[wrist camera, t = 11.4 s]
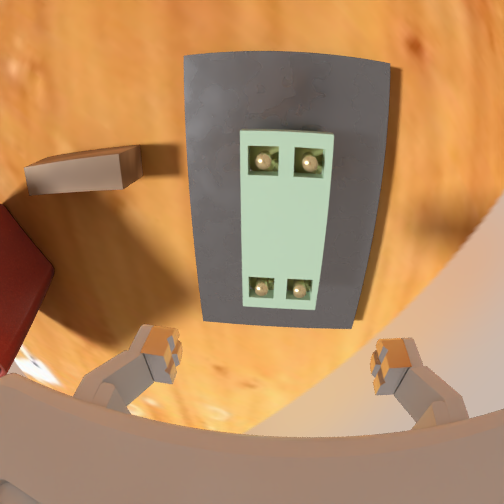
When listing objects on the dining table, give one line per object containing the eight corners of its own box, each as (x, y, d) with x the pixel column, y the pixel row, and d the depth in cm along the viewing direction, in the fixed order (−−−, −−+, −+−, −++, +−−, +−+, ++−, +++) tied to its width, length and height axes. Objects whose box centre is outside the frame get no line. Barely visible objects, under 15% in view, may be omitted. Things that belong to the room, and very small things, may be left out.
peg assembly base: (189, 57, 21) (161, 48, 15) (384, 65, 19) (412, 58, 14) (206, 312, 33) (193, 351, 28) (349, 319, 32) (357, 360, 27)
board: (314, 301, 26) (314, 310, 25) (244, 297, 26) (242, 306, 25) (331, 132, 19) (334, 134, 18) (242, 128, 19) (239, 130, 18)
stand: (47, 157, 26) (23, 167, 22) (139, 144, 25) (118, 154, 21) (52, 182, 27) (29, 195, 24) (143, 175, 26) (123, 189, 23)
